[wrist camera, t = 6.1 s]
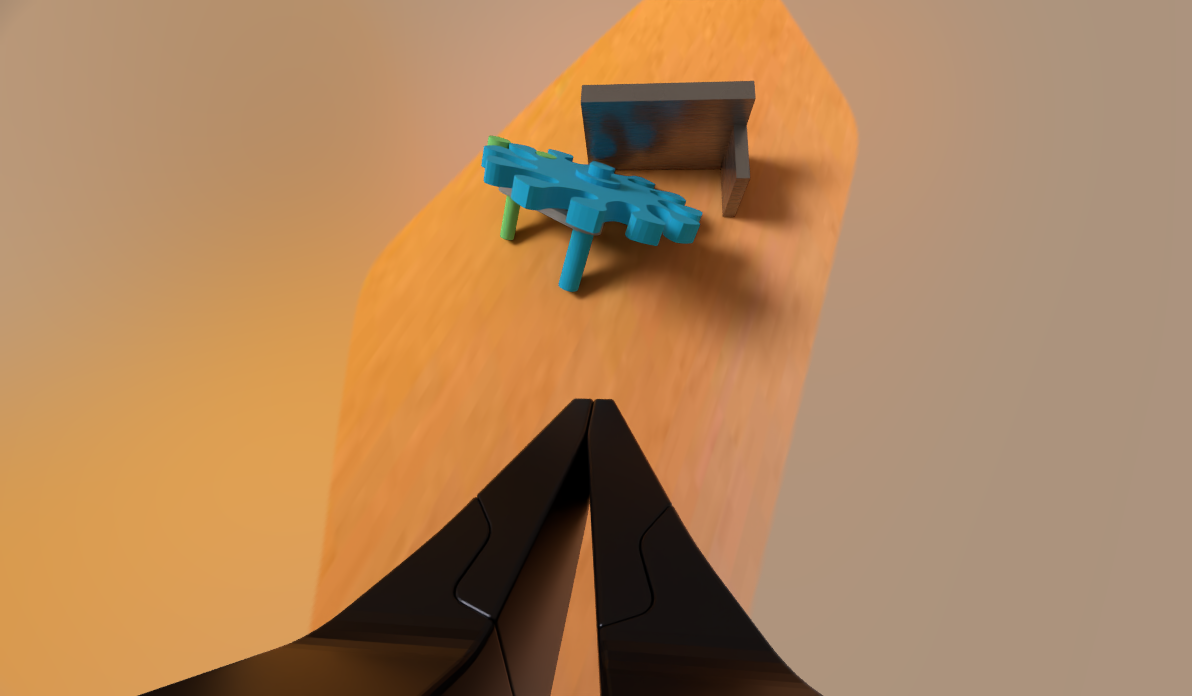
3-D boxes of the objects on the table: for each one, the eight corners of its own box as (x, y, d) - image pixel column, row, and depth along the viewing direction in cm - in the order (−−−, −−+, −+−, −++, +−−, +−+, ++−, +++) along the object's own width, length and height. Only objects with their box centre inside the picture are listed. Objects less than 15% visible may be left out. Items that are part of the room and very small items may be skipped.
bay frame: (734, 216, 22) (759, 154, 18) (586, 216, 23) (577, 156, 19) (731, 153, 24) (754, 80, 19) (590, 155, 24) (582, 85, 20)
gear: (738, 204, 21) (645, 218, 13) (690, 309, 24) (591, 372, 16) (563, 132, 25) (411, 109, 17) (541, 230, 28) (403, 249, 20)
